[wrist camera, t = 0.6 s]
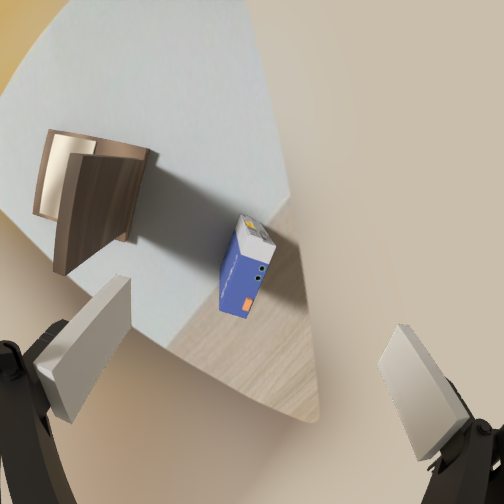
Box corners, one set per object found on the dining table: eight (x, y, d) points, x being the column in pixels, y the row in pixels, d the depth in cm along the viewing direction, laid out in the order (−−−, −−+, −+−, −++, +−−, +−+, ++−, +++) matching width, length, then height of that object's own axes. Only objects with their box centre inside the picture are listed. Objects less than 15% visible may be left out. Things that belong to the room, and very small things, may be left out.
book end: (38, 212, 33) (-45, 242, 16) (54, 130, 30) (-32, 119, 13) (127, 239, 35) (64, 293, 19) (149, 149, 32) (89, 134, 16)
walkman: (239, 275, 38) (247, 320, 27) (219, 269, 38) (218, 312, 26) (261, 220, 36) (279, 244, 25) (240, 213, 36) (249, 233, 24)
